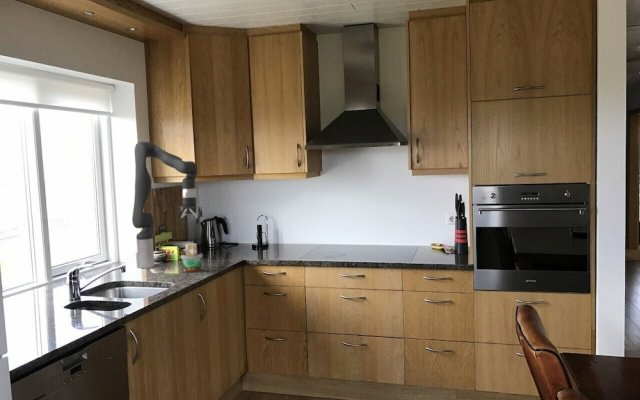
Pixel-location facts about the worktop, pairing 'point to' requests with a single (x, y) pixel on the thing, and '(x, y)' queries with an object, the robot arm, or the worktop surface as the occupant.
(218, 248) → the worktop surface
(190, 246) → the birch block
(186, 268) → the food container
